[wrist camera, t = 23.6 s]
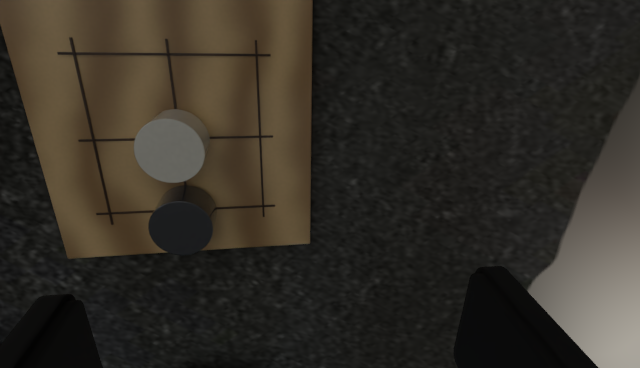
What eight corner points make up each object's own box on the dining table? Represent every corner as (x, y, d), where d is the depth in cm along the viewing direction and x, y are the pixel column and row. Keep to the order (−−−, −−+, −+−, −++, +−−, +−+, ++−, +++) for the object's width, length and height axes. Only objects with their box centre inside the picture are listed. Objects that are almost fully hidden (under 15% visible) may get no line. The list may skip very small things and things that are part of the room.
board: (310, -5, 27) (312, -7, 26) (308, 236, 35) (310, 244, 34) (0, -15, 24) (-14, -17, 23) (74, 250, 32) (67, 259, 31)
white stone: (206, 108, 28) (201, 118, 25) (212, 167, 30) (207, 182, 27) (140, 109, 27) (127, 119, 24) (150, 169, 29) (139, 184, 26)
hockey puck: (214, 183, 30) (210, 199, 27) (219, 233, 32) (215, 253, 29) (153, 186, 30) (143, 202, 27) (162, 237, 31) (153, 257, 29)
